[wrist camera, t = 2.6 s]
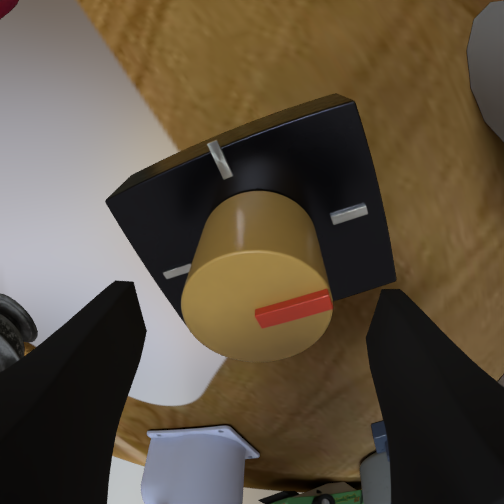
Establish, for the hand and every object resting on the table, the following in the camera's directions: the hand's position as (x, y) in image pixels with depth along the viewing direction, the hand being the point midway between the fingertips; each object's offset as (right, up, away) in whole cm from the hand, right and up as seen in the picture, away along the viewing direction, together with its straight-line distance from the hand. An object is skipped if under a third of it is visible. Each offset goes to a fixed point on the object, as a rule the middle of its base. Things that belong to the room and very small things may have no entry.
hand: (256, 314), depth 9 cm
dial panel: (0, +4, +6) cm, 7 cm away
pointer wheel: (0, +2, +3) cm, 4 cm away
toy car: (+11, -36, +25) cm, 45 cm away
